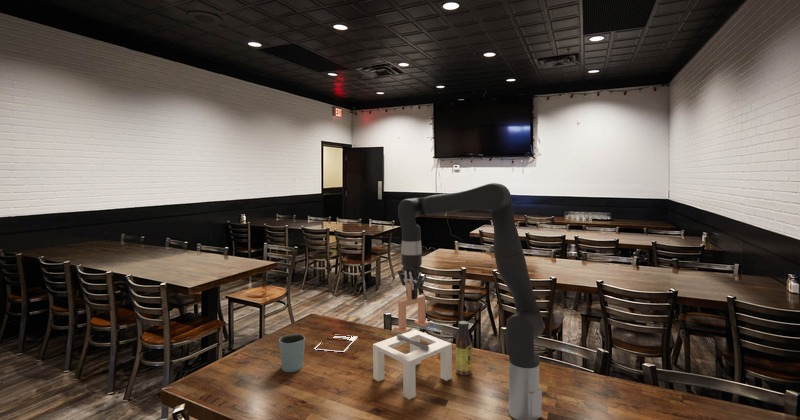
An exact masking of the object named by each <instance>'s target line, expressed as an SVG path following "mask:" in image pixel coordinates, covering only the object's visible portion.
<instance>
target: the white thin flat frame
mask: <svg viewBox="0 0 800 420" xmlns="http://www.w3.org/2000/svg"><path fill="white" fill-rule="evenodd" d="M350 336H351V338H350V337H346V336H334V337H333V338H343V339H347V340H349V341H348V342H350V341H352V342H350V344H348V346H346V348H345V349H344V350H334V349H333V350H332V349H324V348H319V347H320V346H321V345H322V344H321V342H319V343H318V344H317V345H316V346H314V348H313V349H315V350H314V351H317V350H324V351H323V352H327V351H334V352H333V353H337V352H345V351H346V352H347V351H348V349H349V348H350V347H351V346H352V345H353V344H354V343H355V342H356V341H357V340H358V338H359V336H357V335H356V336H355V335H350ZM352 336H353V337H352ZM349 338H350V339H349ZM354 341H355V342H354ZM353 342H354V343H353ZM352 343H353V344H352ZM320 344H321V345H320ZM351 344H352V345H351ZM319 345H320V346H319ZM350 345H351V346H350ZM318 346H319V347H318ZM349 346H350V347H349ZM317 347H318V348H317ZM316 348H317V349H316ZM346 352H345V353H346Z"/></svg>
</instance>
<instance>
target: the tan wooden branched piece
mask: <svg viewBox="0 0 800 420" xmlns="http://www.w3.org/2000/svg"><path fill="white" fill-rule="evenodd" d="M414 285H415V284H414ZM397 303H398V304H397V307H398V308H397V309H398V314H397V315H398V318H397V319H398V325H397V326H395V327H394V330H395V331H398V332H400V333H401V334H403V333H406V332H409V331H411V328H410V327H407V307H409V306H413V305H416V304H417V319H415V320H414V324H417V325H418V326H420V327H426V326H428V325H429V326H430V321H429V320H428V321H427V320H426V295H424V294H418V297H417V299H414V300H413V299H412V286H411V283H410V282H408V283H407V295H406V298H405V299H401V300H398V301H397Z"/></svg>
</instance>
